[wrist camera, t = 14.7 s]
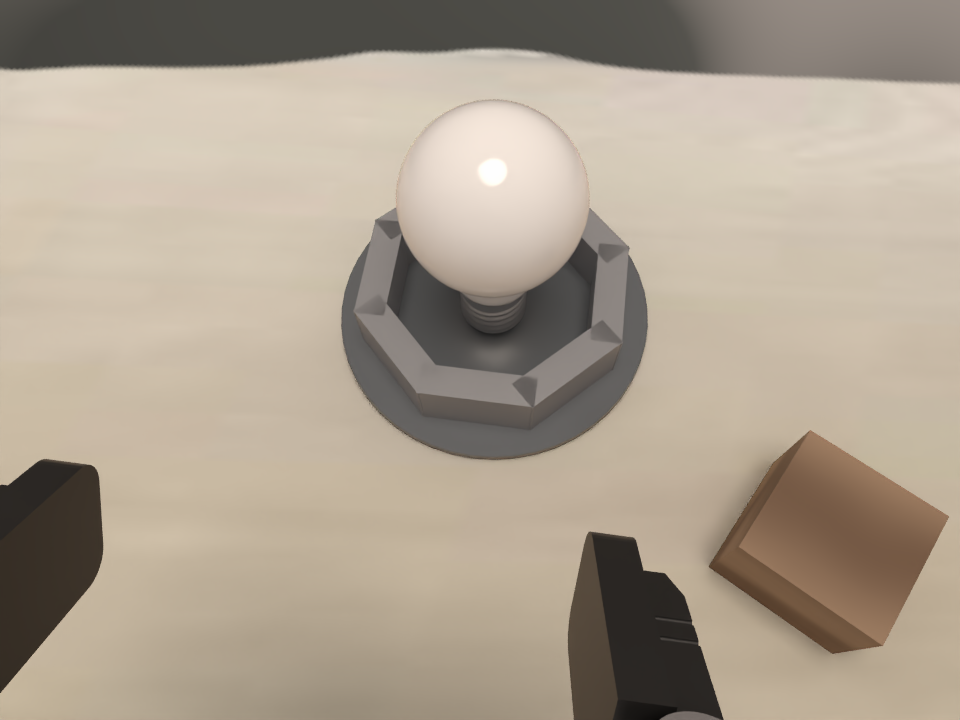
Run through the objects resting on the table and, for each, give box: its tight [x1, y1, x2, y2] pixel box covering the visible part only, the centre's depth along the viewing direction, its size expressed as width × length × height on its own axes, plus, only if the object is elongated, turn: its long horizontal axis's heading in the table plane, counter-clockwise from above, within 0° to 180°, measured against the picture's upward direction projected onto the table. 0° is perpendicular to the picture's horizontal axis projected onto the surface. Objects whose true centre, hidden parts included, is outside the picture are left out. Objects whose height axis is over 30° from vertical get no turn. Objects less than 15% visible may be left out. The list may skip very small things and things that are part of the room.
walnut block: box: [709, 430, 949, 654], centre depth 27 cm, size 5×5×4 cm
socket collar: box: [341, 208, 648, 459], centre depth 31 cm, size 13×13×3 cm
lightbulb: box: [396, 99, 590, 333], centre depth 27 cm, size 6×6×11 cm
